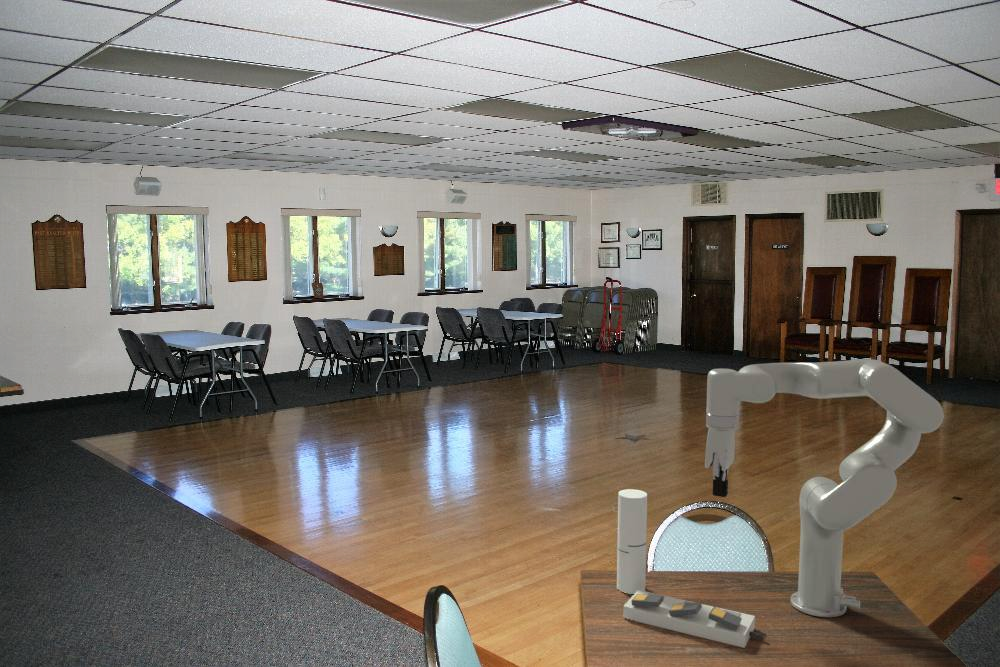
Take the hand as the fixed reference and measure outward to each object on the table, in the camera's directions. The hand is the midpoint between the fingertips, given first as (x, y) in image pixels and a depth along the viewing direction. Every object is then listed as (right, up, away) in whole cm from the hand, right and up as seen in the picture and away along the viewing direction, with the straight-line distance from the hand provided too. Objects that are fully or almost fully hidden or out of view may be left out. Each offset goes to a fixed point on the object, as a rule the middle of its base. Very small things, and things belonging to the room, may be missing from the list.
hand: (720, 495), depth 194 cm
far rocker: (-19, -24, -6) cm, 30 cm away
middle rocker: (-11, -24, -10) cm, 28 cm away
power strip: (-8, -28, -8) cm, 31 cm away
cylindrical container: (-20, -26, +11) cm, 35 cm away
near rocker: (-3, -25, -14) cm, 29 cm away
